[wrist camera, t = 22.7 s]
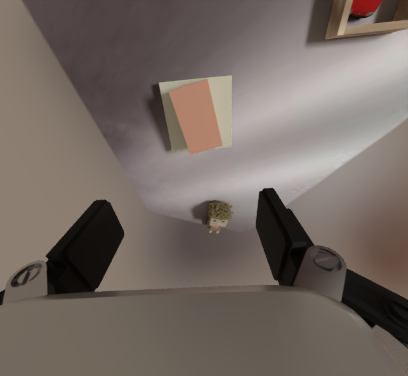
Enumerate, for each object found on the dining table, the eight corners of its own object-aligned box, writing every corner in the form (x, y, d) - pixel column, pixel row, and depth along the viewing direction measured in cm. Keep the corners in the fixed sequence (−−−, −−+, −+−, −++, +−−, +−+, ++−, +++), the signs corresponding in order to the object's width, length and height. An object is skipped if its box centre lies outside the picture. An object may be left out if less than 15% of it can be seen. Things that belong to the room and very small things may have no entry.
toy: (204, 240, 56) (208, 216, 45) (204, 222, 60) (209, 196, 49) (226, 241, 56) (236, 218, 45) (225, 223, 61) (234, 198, 49)
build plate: (160, 82, 35) (158, 82, 33) (230, 75, 34) (231, 75, 32) (173, 148, 42) (172, 151, 40) (230, 144, 41) (231, 147, 40)
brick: (172, 90, 34) (168, 91, 30) (206, 78, 32) (207, 78, 29) (191, 147, 40) (190, 154, 36) (220, 139, 39) (222, 145, 35)
